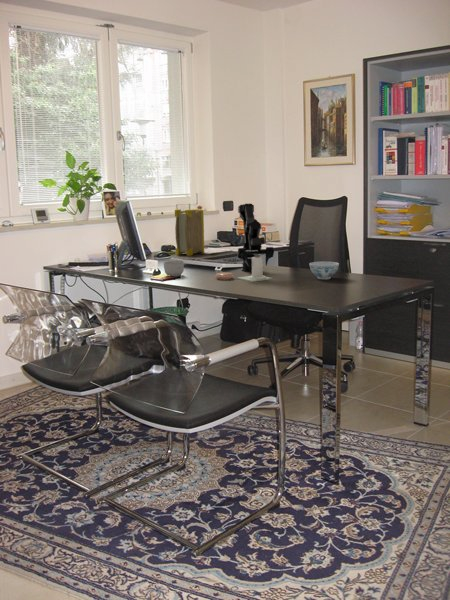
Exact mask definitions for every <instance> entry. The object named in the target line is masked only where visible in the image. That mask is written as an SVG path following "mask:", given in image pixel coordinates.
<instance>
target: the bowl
mask: <svg viewBox="0 0 450 600" xmlns="http://www.w3.org/2000/svg"><path fill="white" fill-rule="evenodd" d="M215 278H217V280H222V281H225V280H231V279H233V278H234V273H233V272H216V274H215Z"/></svg>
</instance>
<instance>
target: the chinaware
mask: <svg viewBox="0 0 450 600" xmlns="http://www.w3.org/2000/svg"><path fill="white" fill-rule="evenodd" d="M339 265H340V263H339V262H336V261H335V262H334V261H313V262H309V268H310V271H311V273H312V274H313V275H314V276H316V277H317V279H318V280H330V279H331V278H332V277H333V276H334V275H335V274H336V273H337V272H338V269H339Z"/></svg>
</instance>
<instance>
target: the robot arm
mask: <svg viewBox="0 0 450 600" xmlns="http://www.w3.org/2000/svg"><path fill="white" fill-rule="evenodd" d="M237 211H238V213H239V218H240V219H241V220H242V222H243V223H242V224H243V234H244V235H243V236H244V244H243V247H238V249H237V259H240V260H241V261H243V262H242V269H241V272H248V273H249V272H252V257H255V255H264V258H265V259H264V260H265V261H264V262H265V263H264V264H265V266H266V267H267V266H268V261H269V259H271V258H274V255H275V248H274V247H273V246H266V247H265V249H262V245H264V244H265V243H266V239H265V238H266V237H265V236H262V237H260V235H261V234H260V233H261V230H262V224H261V223H260V221H258V220H257V219H255V215H254V213H255V205H254V204H252V203H243V204H240V205H238V207H237Z"/></svg>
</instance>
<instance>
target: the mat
mask: <svg viewBox="0 0 450 600" xmlns="http://www.w3.org/2000/svg"><path fill="white" fill-rule="evenodd" d="M249 276H250V275H247V276H239V277H237V279H238V280H242V281H246V282H251V283H252V282H261V281H267V280H268V281H269V280H273V277H269V276H266V278H265V279H249Z"/></svg>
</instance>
